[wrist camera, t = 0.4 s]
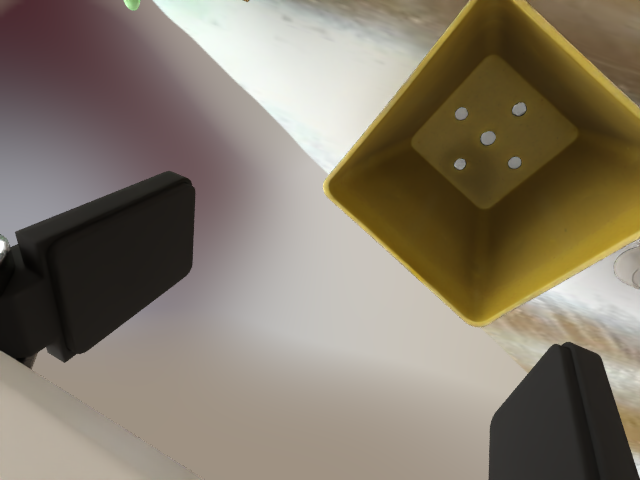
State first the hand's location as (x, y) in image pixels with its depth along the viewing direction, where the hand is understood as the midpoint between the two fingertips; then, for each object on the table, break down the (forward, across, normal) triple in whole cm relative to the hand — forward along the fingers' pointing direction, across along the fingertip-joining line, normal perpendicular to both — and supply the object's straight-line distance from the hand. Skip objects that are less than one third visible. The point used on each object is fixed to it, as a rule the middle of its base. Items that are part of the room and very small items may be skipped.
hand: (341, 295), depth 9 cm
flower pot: (+38, -4, +3) cm, 39 cm away
